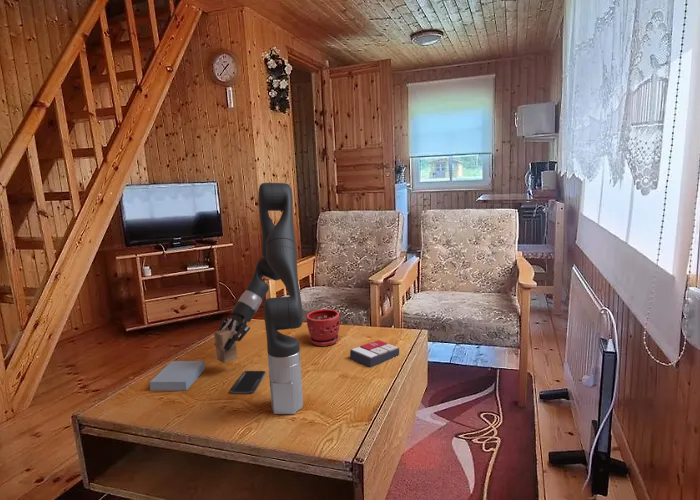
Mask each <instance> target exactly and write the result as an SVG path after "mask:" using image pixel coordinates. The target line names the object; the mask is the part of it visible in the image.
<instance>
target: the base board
mask: <svg viewBox="0 0 700 500" xmlns="http://www.w3.org/2000/svg"><path fill="white" fill-rule="evenodd" d="M205 369H206V365H205V360H179V361H178V360H174V361H173V360H172V361H170V362H169V363H168V364H167V365H166V366H165V367H164V368H163V369H162V370H161V371H160V372H158V373H157V374H156V375H155V376H154V377H153V378H152V379H151V380H150V381H149V387H150V391H154V392H155V391H158V392H159V391H160V392H161V391H166V392H167V391H169V392H170V391H178V392H179V391H188V389H190V387H191V386H192V385H193V384H194V383H195V381H196V380H197V379H198V378H199V377H200V375H202V373H203V372H204V371H205Z"/></svg>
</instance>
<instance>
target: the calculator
mask: <svg viewBox="0 0 700 500" xmlns="http://www.w3.org/2000/svg"><path fill="white" fill-rule="evenodd" d="M349 353H350V354H349V357H350V358H349V359H350V360H352V361H354V362H356V363H357V364H358V363H359V364H360V365H363V366H365V367H367V368H370V369H371V368H374V367H375V366H376V367H377V366H378V365H379V364H381V363H384V362H387V361H389V360H392V359H394V358H397V357H398V355H399V356H400V348H399V347H398V346H396V345H393V344H391V343H388V342H384V341H382V340H380V339H379V340H375V341H372V342H368V343H365V344H362V345H360V346H357V347H354V348H352V349H350V350H349ZM396 356H397V357H396ZM393 357H394V358H393Z"/></svg>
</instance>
